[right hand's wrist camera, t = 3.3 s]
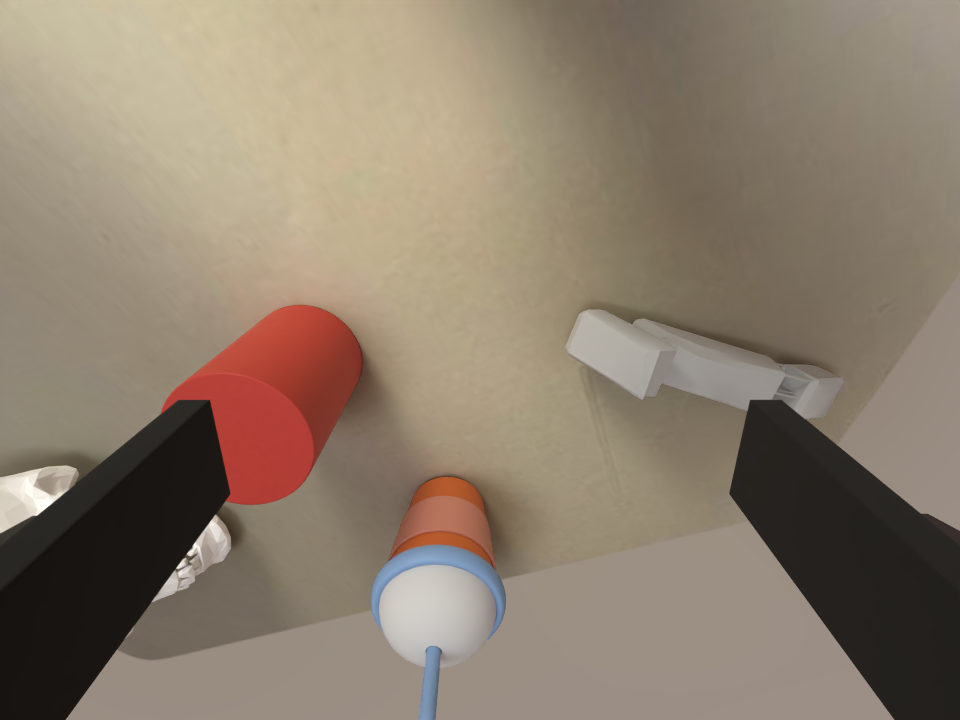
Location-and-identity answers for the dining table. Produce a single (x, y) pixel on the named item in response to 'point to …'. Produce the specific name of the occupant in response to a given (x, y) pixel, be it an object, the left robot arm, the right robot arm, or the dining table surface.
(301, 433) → the canister
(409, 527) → the cup with straw
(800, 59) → the dining table surface
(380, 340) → the dining table surface
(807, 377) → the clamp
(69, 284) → the dining table surface
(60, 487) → the skull
